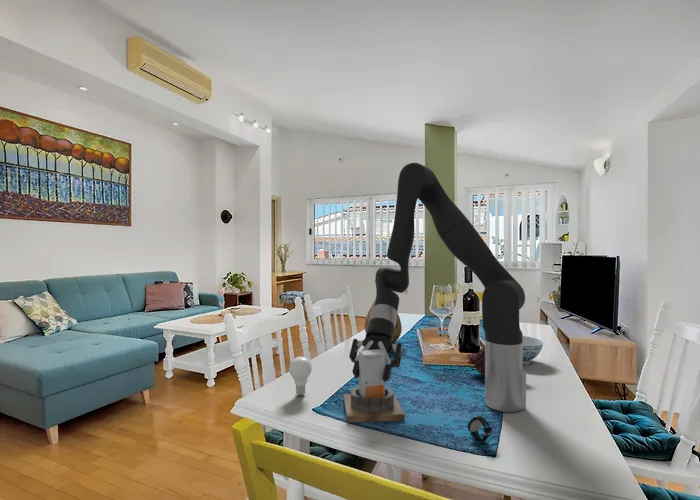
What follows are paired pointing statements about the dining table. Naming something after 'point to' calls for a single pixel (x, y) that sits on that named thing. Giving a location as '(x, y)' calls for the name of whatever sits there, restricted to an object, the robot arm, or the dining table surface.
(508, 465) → the dining table surface
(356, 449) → the dining table surface
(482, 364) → the pine cone
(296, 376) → the lightbulb
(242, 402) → the dining table surface
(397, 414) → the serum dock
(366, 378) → the skincare box
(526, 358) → the chinaware
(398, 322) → the ceramic jug
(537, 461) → the dining table surface
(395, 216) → the robot arm
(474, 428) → the smartwatch
